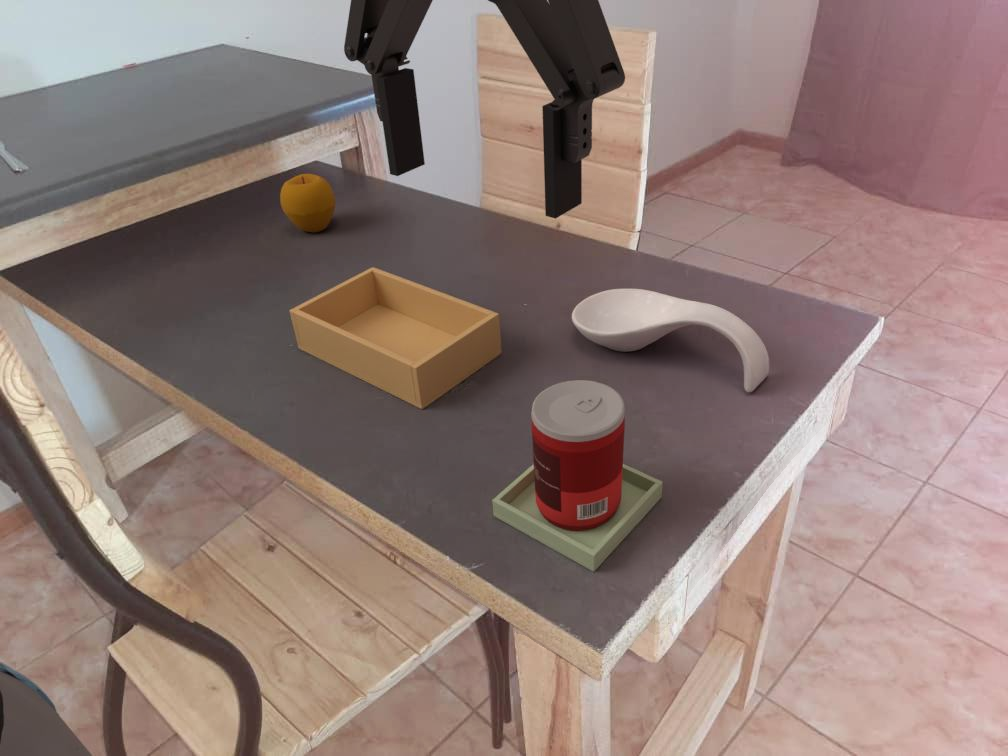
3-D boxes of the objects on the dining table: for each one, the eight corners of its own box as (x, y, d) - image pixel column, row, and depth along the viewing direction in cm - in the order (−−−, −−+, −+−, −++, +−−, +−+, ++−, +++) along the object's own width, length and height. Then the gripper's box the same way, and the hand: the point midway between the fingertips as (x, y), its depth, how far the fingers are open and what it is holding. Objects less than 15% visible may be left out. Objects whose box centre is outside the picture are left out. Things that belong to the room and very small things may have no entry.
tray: (593, 572, 65) (594, 555, 63) (493, 516, 71) (491, 500, 69) (661, 497, 71) (662, 481, 70) (564, 452, 77) (564, 436, 76)
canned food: (635, 489, 72) (640, 393, 65) (596, 546, 66) (598, 447, 60) (562, 463, 75) (560, 369, 69) (519, 515, 70) (513, 418, 64)
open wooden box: (501, 353, 93) (499, 313, 90) (422, 409, 84) (416, 368, 81) (379, 303, 105) (372, 266, 101) (298, 348, 96) (288, 310, 93)
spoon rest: (553, 344, 94) (552, 292, 90) (606, 304, 101) (607, 254, 97) (738, 412, 81) (746, 355, 77) (783, 360, 88) (793, 305, 84)
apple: (288, 221, 130) (277, 170, 125) (340, 215, 131) (330, 163, 126) (286, 242, 123) (273, 189, 118) (340, 235, 124) (329, 182, 119)
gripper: (710, -244, 34) (677, 208, 47) (342, -199, 48) (390, 141, 60) (618, -247, 30) (608, 255, 42) (240, -197, 43) (314, 171, 56)
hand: (480, 188), depth 51 cm, fingers open, 13 cm apart
